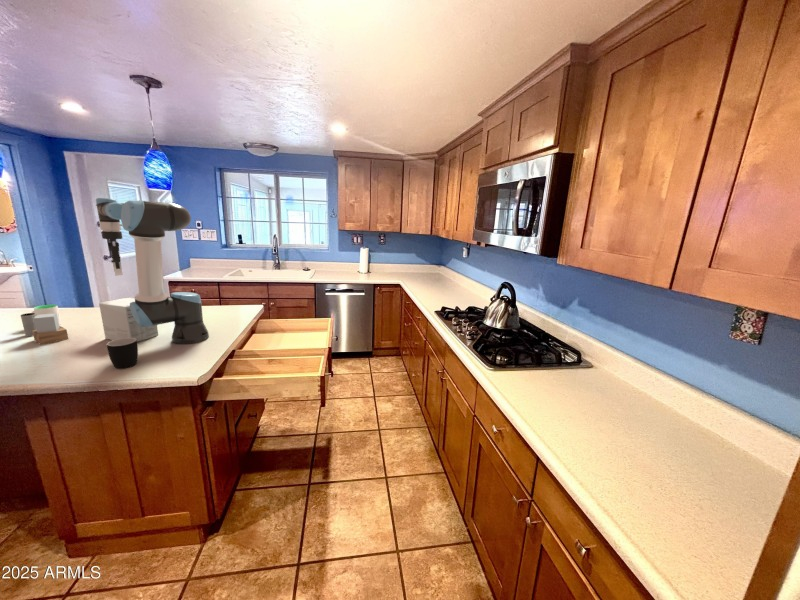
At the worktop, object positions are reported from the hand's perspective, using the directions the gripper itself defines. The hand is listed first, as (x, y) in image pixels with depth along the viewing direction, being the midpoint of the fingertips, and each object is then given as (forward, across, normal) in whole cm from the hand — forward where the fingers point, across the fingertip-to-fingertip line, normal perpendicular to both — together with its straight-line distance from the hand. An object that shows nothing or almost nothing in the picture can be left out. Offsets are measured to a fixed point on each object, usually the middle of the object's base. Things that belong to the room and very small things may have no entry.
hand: (118, 273), depth 161 cm
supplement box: (+29, -20, -1) cm, 35 cm away
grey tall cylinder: (+29, +9, +34) cm, 46 cm away
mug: (+29, -55, +4) cm, 62 cm away
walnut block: (+29, -4, +27) cm, 40 cm away
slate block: (+24, -4, +27) cm, 37 cm away
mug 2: (+29, +21, +31) cm, 47 cm away
